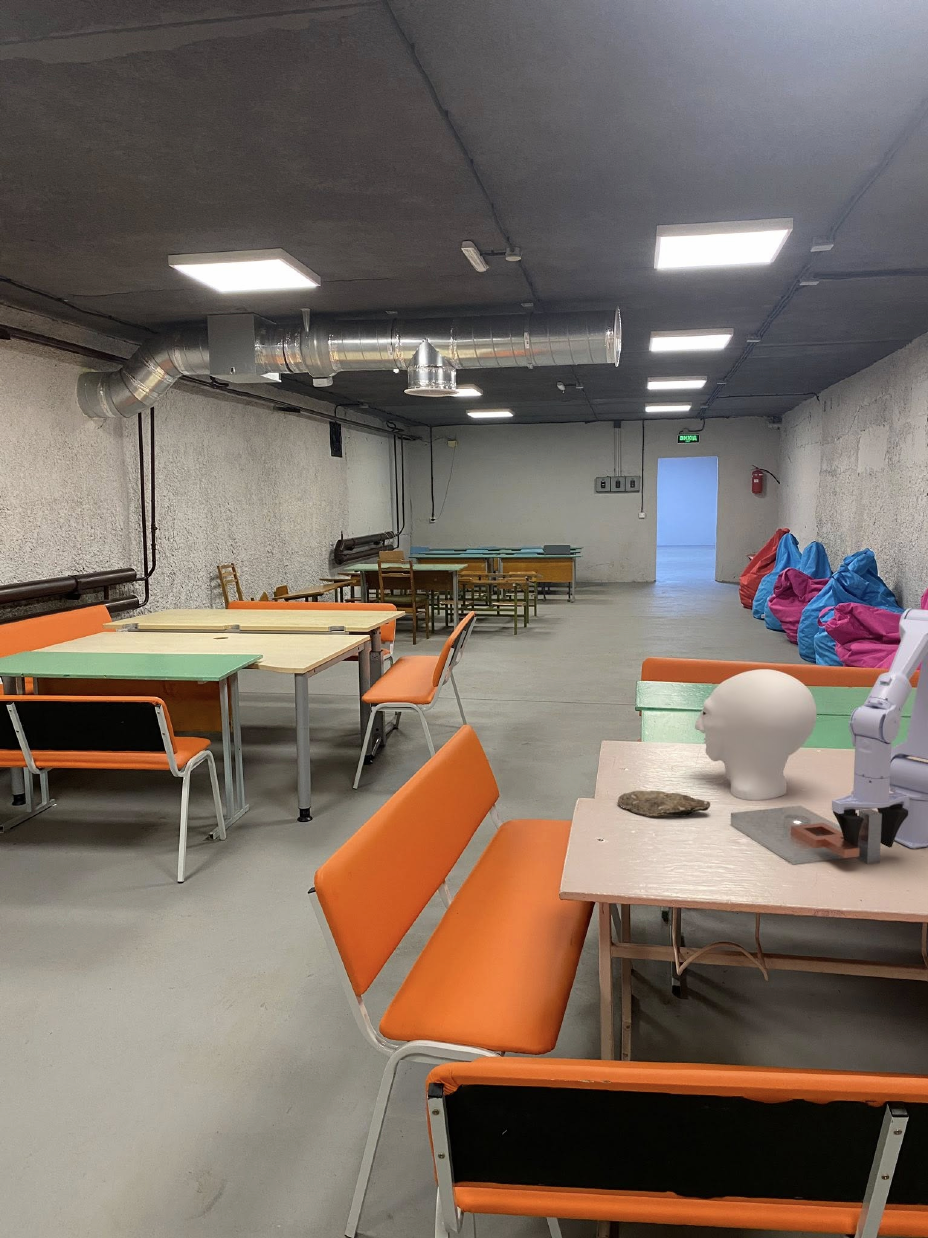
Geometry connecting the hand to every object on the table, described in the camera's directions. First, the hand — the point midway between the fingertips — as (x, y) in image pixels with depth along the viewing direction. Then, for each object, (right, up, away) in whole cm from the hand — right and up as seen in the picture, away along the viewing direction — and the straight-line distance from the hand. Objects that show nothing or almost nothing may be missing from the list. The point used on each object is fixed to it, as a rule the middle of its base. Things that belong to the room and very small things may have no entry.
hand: (868, 847), depth 144 cm
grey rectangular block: (0, -2, 0) cm, 2 cm away
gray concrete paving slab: (-8, -2, +8) cm, 11 cm away
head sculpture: (-7, +2, +41) cm, 41 cm away
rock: (-30, 0, +27) cm, 41 cm away
